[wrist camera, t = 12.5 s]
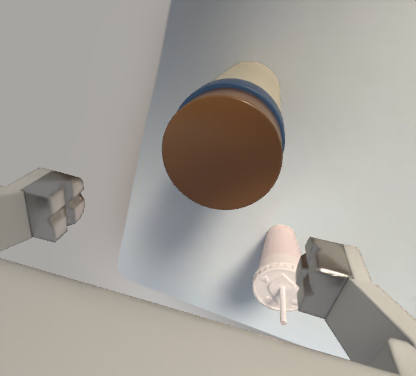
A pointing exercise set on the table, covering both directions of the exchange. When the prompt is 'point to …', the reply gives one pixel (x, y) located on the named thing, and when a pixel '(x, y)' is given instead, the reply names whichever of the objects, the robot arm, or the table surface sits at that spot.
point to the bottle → (249, 87)
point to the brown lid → (223, 149)
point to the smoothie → (278, 271)
